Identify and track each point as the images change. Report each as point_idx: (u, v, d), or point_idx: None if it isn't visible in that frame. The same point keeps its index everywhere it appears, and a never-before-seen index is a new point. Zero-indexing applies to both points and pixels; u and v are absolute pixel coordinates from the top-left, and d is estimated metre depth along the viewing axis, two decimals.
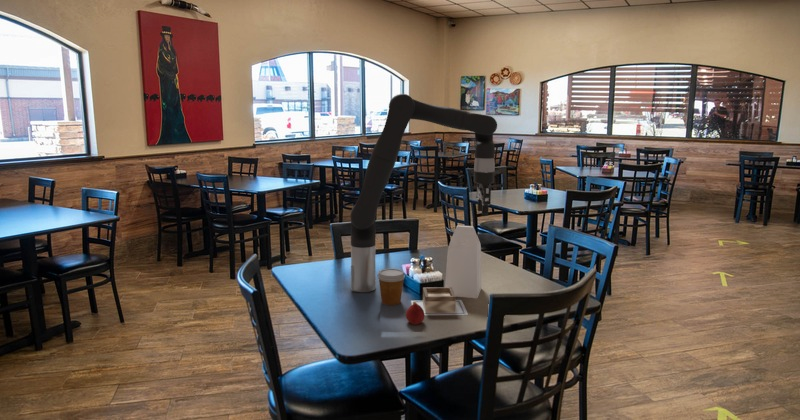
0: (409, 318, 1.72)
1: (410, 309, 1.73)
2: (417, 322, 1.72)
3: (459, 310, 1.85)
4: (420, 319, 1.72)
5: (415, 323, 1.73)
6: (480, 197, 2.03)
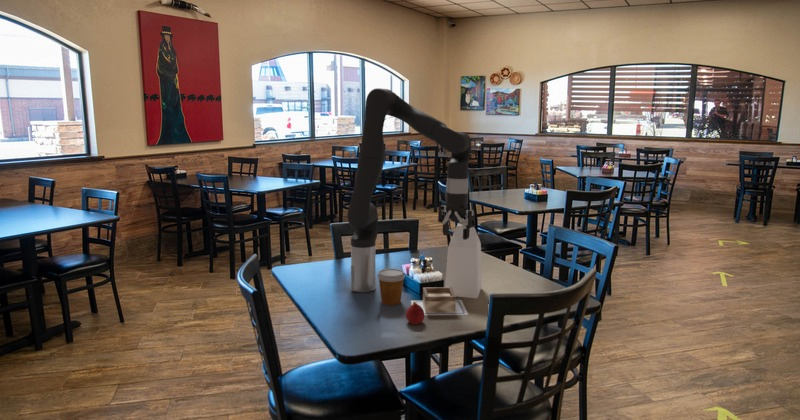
0: (409, 318, 1.72)
1: (410, 309, 1.73)
2: (417, 322, 1.72)
3: (459, 310, 1.85)
4: (420, 319, 1.72)
5: (415, 323, 1.73)
6: (460, 220, 1.87)
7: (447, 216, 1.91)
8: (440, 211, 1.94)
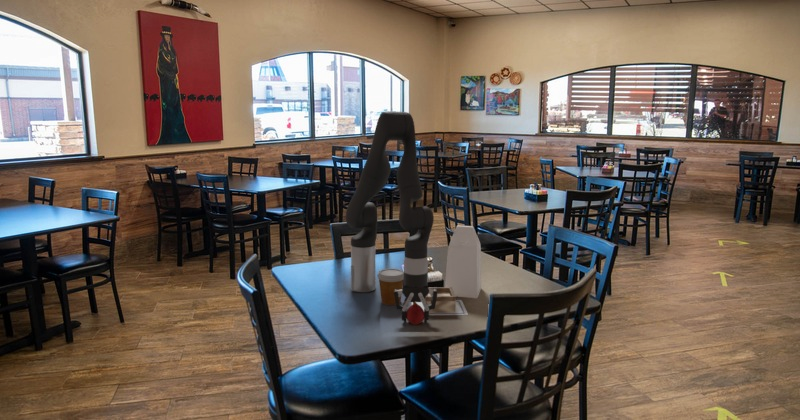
0: (409, 318, 1.72)
1: (410, 309, 1.73)
2: (417, 322, 1.72)
3: (459, 310, 1.85)
4: (420, 319, 1.72)
5: (415, 323, 1.73)
6: (424, 302, 1.72)
7: (409, 300, 1.72)
8: (397, 297, 1.72)
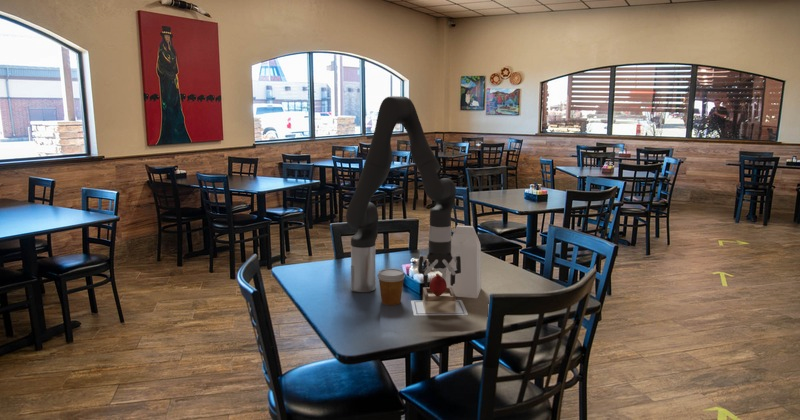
0: (433, 288, 1.84)
1: (433, 280, 1.85)
2: (440, 292, 1.85)
3: (459, 310, 1.85)
4: (443, 289, 1.84)
5: (438, 293, 1.85)
6: (449, 268, 1.84)
7: (432, 266, 1.83)
8: (421, 262, 1.84)
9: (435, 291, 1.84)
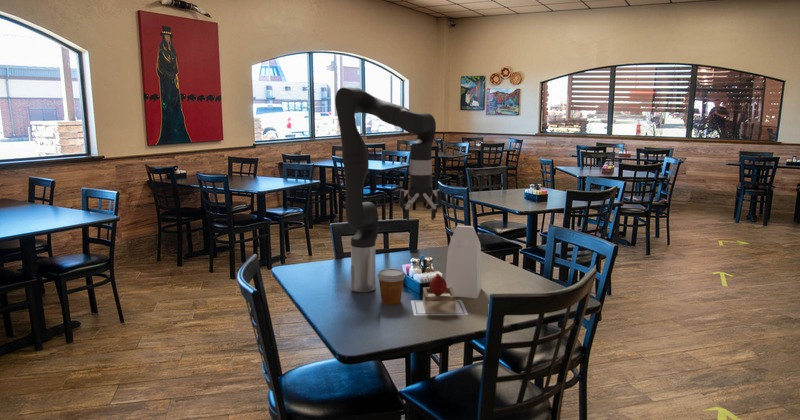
0: (433, 288, 1.84)
1: (434, 280, 1.85)
2: (440, 292, 1.85)
3: (459, 310, 1.85)
4: (443, 289, 1.84)
5: (438, 293, 1.85)
6: (430, 201, 1.88)
7: (413, 199, 1.87)
8: (402, 196, 1.87)
9: (435, 291, 1.84)
